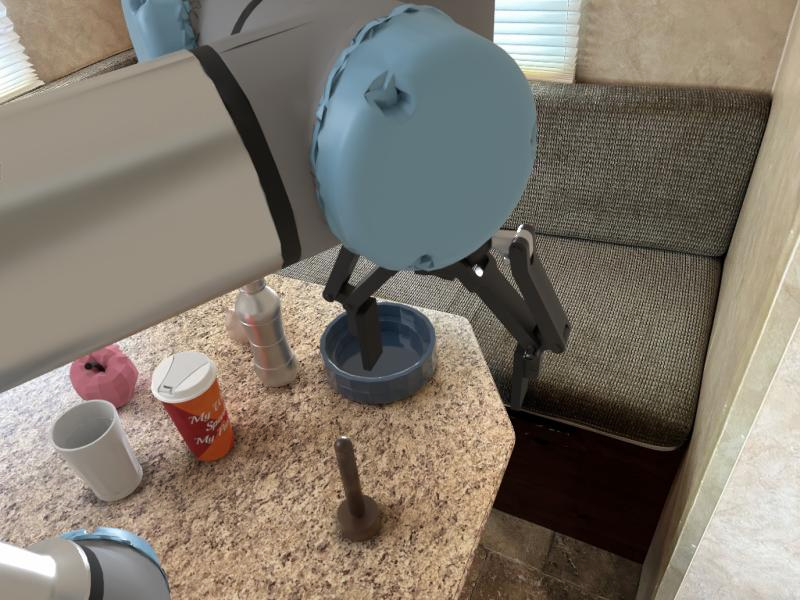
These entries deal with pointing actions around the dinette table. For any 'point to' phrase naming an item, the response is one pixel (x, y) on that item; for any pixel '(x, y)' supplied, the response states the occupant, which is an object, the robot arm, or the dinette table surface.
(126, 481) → the cup
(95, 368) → the apple
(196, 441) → the coffee cup
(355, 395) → the bowl
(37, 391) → the dinette table surface
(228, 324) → the garlic bulb
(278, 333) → the silver water bottle
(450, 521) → the dinette table surface
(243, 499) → the dinette table surface
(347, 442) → the wooden stamp handle
